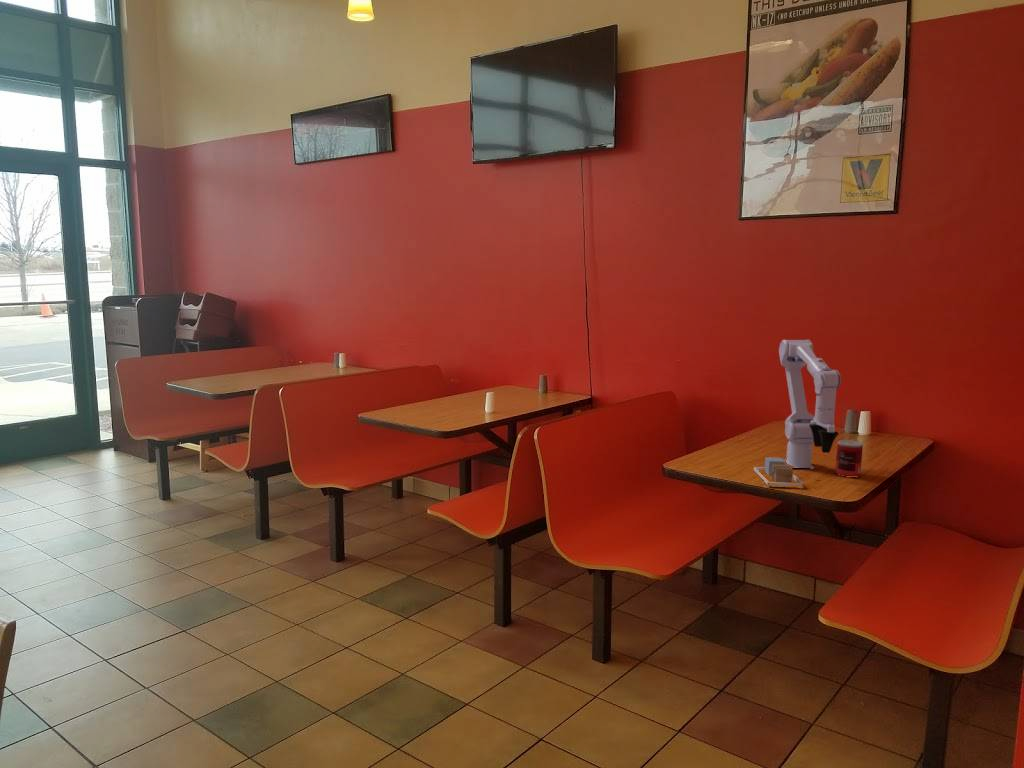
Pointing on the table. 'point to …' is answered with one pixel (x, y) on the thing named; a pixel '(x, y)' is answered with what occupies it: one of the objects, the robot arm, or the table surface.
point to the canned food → (849, 457)
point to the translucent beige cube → (782, 473)
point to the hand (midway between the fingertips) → (821, 449)
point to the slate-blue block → (772, 463)
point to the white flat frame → (799, 482)
